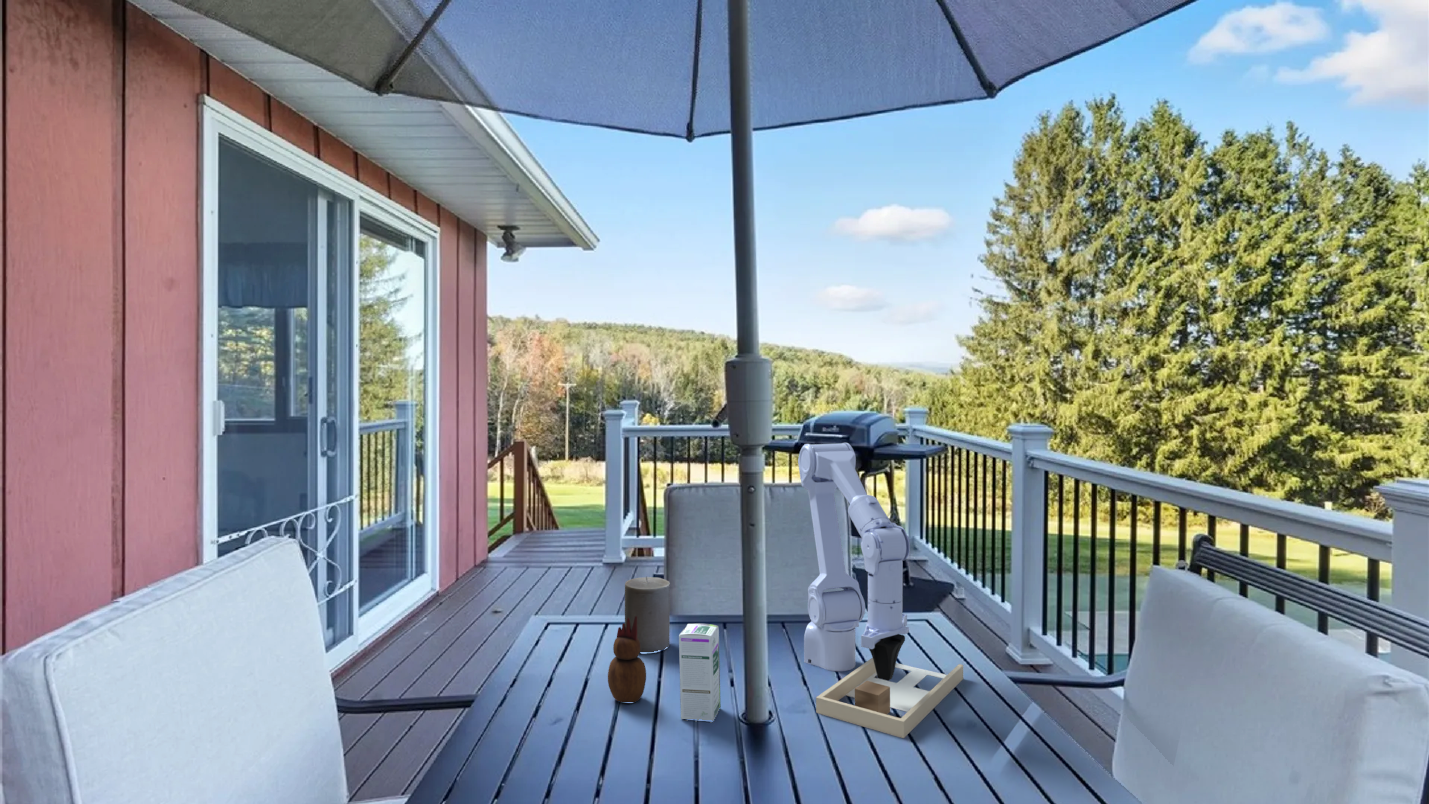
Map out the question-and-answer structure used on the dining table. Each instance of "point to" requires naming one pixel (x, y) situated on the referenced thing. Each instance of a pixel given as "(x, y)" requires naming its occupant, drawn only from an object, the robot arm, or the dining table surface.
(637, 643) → the wooden figurine
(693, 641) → the syrup box
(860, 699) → the walnut block
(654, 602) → the pillar candle
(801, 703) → the dining table surface
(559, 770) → the dining table surface
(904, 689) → the board
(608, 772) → the dining table surface
